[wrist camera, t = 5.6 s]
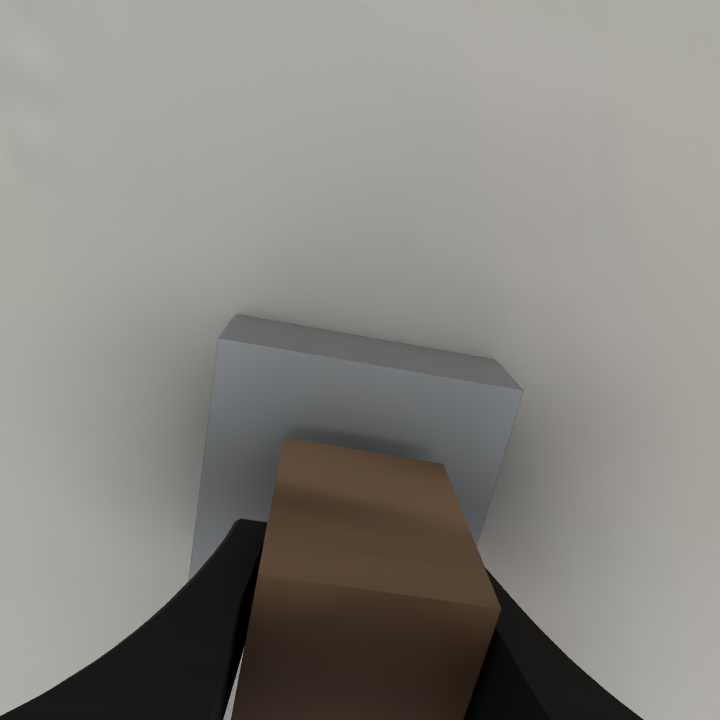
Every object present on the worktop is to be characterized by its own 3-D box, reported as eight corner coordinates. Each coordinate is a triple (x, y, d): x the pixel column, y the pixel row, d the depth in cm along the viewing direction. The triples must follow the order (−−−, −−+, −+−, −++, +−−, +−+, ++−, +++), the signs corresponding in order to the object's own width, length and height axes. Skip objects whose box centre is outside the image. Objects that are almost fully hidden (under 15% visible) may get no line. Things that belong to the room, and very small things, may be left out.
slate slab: (433, 566, 20) (450, 631, 17) (207, 536, 19) (186, 598, 16) (492, 356, 17) (523, 390, 15) (237, 311, 17) (218, 338, 14)
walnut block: (406, 594, 15) (440, 785, 10) (258, 573, 15) (223, 762, 10) (442, 463, 14) (500, 608, 9) (284, 436, 13) (258, 574, 9)
